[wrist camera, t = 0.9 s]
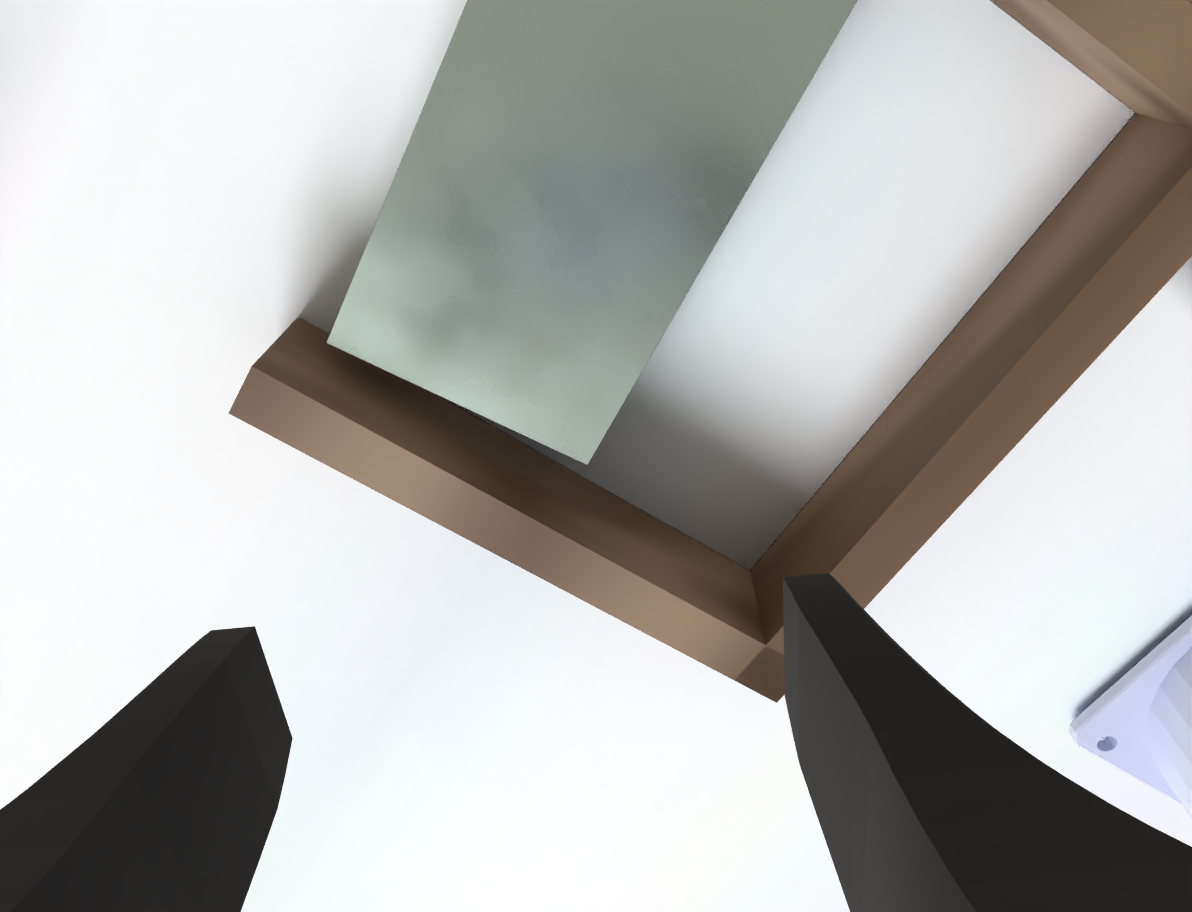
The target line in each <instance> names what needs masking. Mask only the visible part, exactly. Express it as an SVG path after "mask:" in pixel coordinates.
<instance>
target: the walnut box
mask: <svg viewBox="0 0 1192 912" xmlns="http://www.w3.org/2000/svg"><path fill="white" fill-rule="evenodd" d="M990 1H992V2H993V3H994V4H995V5H997V6H998V7H999V8H1001V9H1002V10H1003V11H1004V12H1006V13H1007V14H1008V15H1010V16H1011V17H1012V18H1013V19H1015V20H1016V21H1017V22H1019V23H1020V24H1021V25H1023V26H1024V27H1025V28H1026V29H1028V30H1029V31H1030V32H1032V33H1033V34H1034V35H1035V36H1037V37H1038V38H1039V39H1041V40H1042V41H1043V42H1044V43H1046V44H1047V45H1048V46H1050V47H1051V48H1052V49H1053V50H1055V51H1056V52H1057V53H1059V54H1060V55H1061V56H1063V57H1064V58H1065V59H1066V60H1068V61H1069V62H1070V63H1072V64H1073V65H1074V66H1075V67H1077V68H1078V69H1079V70H1081V71H1082V72H1083V73H1084V74H1086V75H1087V76H1088V77H1090V78H1091V79H1092V80H1093V81H1095V82H1096V83H1097V84H1099V85H1100V86H1101V87H1103V88H1104V89H1105V90H1106V91H1108V92H1109V93H1110V94H1112V95H1113V96H1114V97H1115V98H1117V99H1118V100H1119V101H1121V102H1122V103H1123V104H1124V105H1126V106H1127V107H1128V108H1130V109H1131V110H1132V111H1133V112H1135V115H1134V116H1133V117H1132V118H1131V119H1130V121H1129V122H1128V123H1127V124H1126V125H1125V126H1124V128H1123V129H1122V130H1121V131H1120V132H1119V134H1118V135H1117V136H1116V137H1115V138H1114V140H1113V141H1112V142H1111V143H1110V144H1109V145H1108V147H1107V148H1106V149H1105V150H1104V151H1103V153H1102V154H1101V155H1100V156H1099V157H1098V159H1097V160H1096V161H1095V162H1094V163H1093V164H1092V166H1091V167H1090V168H1089V169H1088V170H1087V172H1086V173H1085V174H1084V175H1083V176H1082V178H1081V179H1080V180H1079V181H1078V182H1077V183H1076V185H1075V186H1074V187H1073V188H1072V189H1071V191H1070V192H1069V193H1068V194H1067V195H1066V197H1065V198H1064V199H1063V200H1062V201H1061V202H1060V204H1059V205H1058V206H1057V207H1056V208H1055V210H1054V211H1053V212H1052V213H1051V214H1050V216H1049V217H1048V218H1047V219H1046V220H1045V221H1044V223H1043V224H1042V225H1041V226H1040V227H1039V229H1038V230H1037V231H1036V232H1035V233H1034V235H1033V236H1032V237H1031V238H1030V239H1029V240H1028V242H1027V243H1026V244H1025V245H1024V246H1023V248H1022V249H1021V250H1020V251H1019V252H1018V254H1017V255H1016V256H1015V257H1014V258H1013V259H1012V261H1011V262H1010V263H1009V264H1008V265H1007V267H1006V268H1005V269H1004V270H1003V271H1002V273H1001V274H1000V275H999V276H998V277H997V278H996V280H995V281H994V282H993V283H992V284H991V286H990V287H989V288H988V289H987V290H986V292H985V293H984V294H983V295H982V296H981V297H980V299H979V300H978V301H977V302H976V303H975V305H974V306H973V307H972V308H971V309H970V311H969V312H968V313H967V314H966V315H965V316H964V318H963V319H962V320H961V321H960V322H959V324H958V325H957V326H956V327H955V328H954V330H953V331H952V332H951V333H950V334H949V335H948V337H947V338H946V339H945V340H944V341H943V343H942V344H941V345H940V346H939V347H938V349H937V350H936V351H935V352H934V353H933V354H932V356H931V357H930V358H929V359H928V360H927V362H926V363H925V364H924V365H923V366H922V368H921V369H920V370H919V371H918V372H917V373H916V375H915V376H914V377H913V378H912V379H911V381H910V382H909V383H908V384H907V385H906V387H905V388H904V389H903V390H902V391H901V392H900V394H899V395H898V396H897V397H896V398H895V400H894V401H893V402H892V403H891V404H890V406H889V407H888V408H887V409H886V410H885V411H884V413H883V414H882V415H881V416H880V417H879V419H878V420H877V421H876V422H875V423H874V425H873V426H872V427H871V428H870V429H869V430H868V432H867V433H866V434H865V435H864V436H863V438H862V439H861V440H860V441H859V442H858V444H857V445H856V446H855V447H854V448H853V449H852V451H851V452H850V453H849V454H848V455H847V457H846V458H845V459H844V460H843V461H842V463H841V464H840V465H839V466H838V467H837V468H836V470H835V471H834V472H833V473H832V474H831V476H830V477H829V478H828V479H827V480H826V482H825V483H824V484H823V485H822V486H821V487H820V489H819V490H818V491H817V492H816V493H815V495H814V496H813V497H812V498H811V499H810V501H809V502H808V503H807V504H806V505H805V506H804V508H803V509H802V510H801V511H800V512H799V514H798V515H797V516H796V517H795V518H794V520H793V521H792V522H791V523H790V524H789V525H788V527H787V528H786V529H785V530H784V531H783V533H782V534H781V535H780V536H779V537H778V539H777V540H776V541H775V542H774V543H773V544H772V546H771V547H770V548H769V549H768V550H767V552H766V553H765V554H764V555H763V556H762V558H761V559H760V560H759V561H758V562H757V563H756V565H755V566H754V567H753V568H752V569H751V571H749V570H747V569H745V568H744V567H742V566H740V565H738V564H737V563H735V562H733V561H731V560H729V559H728V558H726V557H724V556H722V555H720V554H719V553H717V552H715V551H713V550H712V549H710V548H708V547H706V546H704V545H703V544H701V543H699V542H697V541H696V540H694V539H692V538H690V537H688V536H687V535H685V534H683V533H681V532H680V531H678V530H676V529H674V528H672V527H671V526H669V525H667V524H665V523H663V522H662V521H660V520H658V519H656V518H655V517H653V516H651V515H649V514H647V513H646V512H644V511H642V510H640V509H639V508H637V507H635V506H633V505H631V504H630V503H628V502H626V501H624V500H623V499H621V498H619V497H617V496H615V495H614V494H612V493H610V492H608V491H606V490H605V489H603V488H601V487H599V486H598V485H596V484H594V483H592V482H590V481H589V480H587V479H585V478H583V477H582V476H580V475H578V474H576V473H574V472H573V471H571V470H569V469H567V468H565V467H564V466H562V465H560V464H558V463H557V462H555V461H553V460H551V459H549V458H548V457H546V456H544V455H542V454H541V453H539V452H537V451H535V450H533V449H532V448H530V447H528V446H526V445H525V444H523V443H521V442H519V441H517V440H516V439H514V438H512V437H510V436H508V435H507V434H505V433H503V432H501V431H500V430H498V429H496V428H494V427H492V426H491V425H489V424H487V423H485V422H484V421H482V420H480V419H478V418H476V417H475V416H473V415H471V414H469V413H467V412H466V411H464V410H462V409H460V408H459V407H457V406H455V405H453V404H451V403H450V402H448V401H446V400H444V399H443V398H441V397H439V396H437V395H435V394H434V393H432V392H430V391H428V390H426V389H424V388H422V387H420V386H418V385H415V384H413V383H411V382H409V381H407V380H405V379H403V378H400V377H398V376H396V375H394V374H392V373H390V372H388V371H386V370H383V369H381V368H379V367H377V366H375V365H373V364H371V363H368V362H366V361H364V360H362V359H360V358H358V357H356V356H354V355H351V354H349V353H347V352H345V351H343V350H341V349H339V348H336V347H334V346H332V345H330V344H328V343H327V340H328V338H329V334H327V333H325V332H323V331H321V330H320V329H318V328H316V327H314V326H312V325H311V324H309V323H307V322H305V321H304V320H302V319H300V318H297V319H296V320H295V321H294V322H293V323H292V324H291V325H290V326H289V327H288V328H287V329H286V330H285V332H284V333H283V334H282V335H281V336H280V337H279V338H278V339H277V340H276V341H275V342H274V343H273V344H272V345H271V346H270V347H269V349H268V350H267V351H266V352H265V353H264V354H263V355H262V356H261V357H260V358H259V359H258V360H257V361H256V362H255V363H254V364H253V366H252V367H251V369H250V371H249V373H248V375H247V377H246V379H245V381H244V383H243V385H242V387H241V389H240V391H239V393H238V395H237V397H236V399H235V401H234V403H233V405H232V407H231V409H230V411H229V414H231V415H233V416H235V417H237V418H239V419H241V420H242V421H244V422H246V423H248V424H250V425H252V426H254V427H256V428H258V429H260V430H261V431H263V432H265V433H267V434H269V435H271V436H273V437H275V438H277V439H278V440H280V441H282V442H284V443H286V444H288V445H290V446H292V447H294V448H295V449H297V450H299V451H301V452H303V453H305V454H307V455H309V456H311V457H313V458H314V459H316V460H318V461H320V462H322V463H324V464H326V465H328V466H330V467H331V468H333V469H335V470H337V471H339V472H341V473H343V474H345V475H347V476H349V477H350V478H352V479H354V480H356V481H358V482H360V483H362V484H364V485H366V486H367V487H369V488H371V489H373V490H375V491H377V492H379V493H381V494H383V495H385V496H386V497H388V498H390V499H392V500H394V501H396V502H398V503H400V504H402V505H403V506H405V507H407V508H409V509H411V510H413V511H415V512H417V513H419V514H420V515H422V516H424V517H426V518H428V519H430V520H432V521H434V522H436V523H438V524H439V525H441V526H443V527H445V528H447V529H449V530H451V531H453V532H455V533H456V534H458V535H460V536H462V537H464V538H466V539H468V540H470V541H472V542H474V543H475V544H477V545H479V546H481V547H483V548H485V549H487V550H489V551H491V552H492V553H494V554H496V555H498V556H500V557H502V558H504V559H506V560H508V561H509V562H511V563H513V564H515V565H517V566H519V567H521V568H523V569H525V570H527V571H528V572H530V573H532V574H534V575H536V576H538V577H540V578H542V579H544V580H545V581H547V582H549V583H551V584H553V585H555V586H557V587H559V588H561V589H563V590H564V591H566V592H568V593H570V594H572V595H574V596H576V597H578V598H580V599H581V600H583V601H585V602H587V603H589V604H591V605H593V606H595V607H597V608H598V609H600V610H602V611H604V612H606V613H608V614H610V615H612V616H614V617H616V618H617V619H619V620H621V621H623V622H625V623H627V624H629V625H631V626H633V627H634V628H636V629H638V630H640V631H642V632H644V633H646V634H648V635H650V636H652V637H653V638H655V639H657V640H659V641H661V642H663V643H665V644H667V645H669V646H670V647H672V648H674V649H676V650H678V651H680V652H682V653H684V654H686V655H687V656H689V657H691V658H693V659H695V660H697V661H699V662H701V663H703V664H705V665H706V666H708V667H710V668H712V669H714V670H716V671H718V672H720V673H722V674H723V675H725V676H727V677H729V678H731V679H733V680H735V681H737V682H739V683H741V684H742V685H744V686H746V687H748V688H750V689H752V690H754V691H756V692H758V693H759V694H761V695H763V696H765V697H767V698H769V699H771V700H773V701H775V702H776V703H777V702H778V701H779V700H780V699H781V697H782V696H783V695H784V694H785V686H784V613H783V577H792V576H803V575H813V574H824V573H829V574H831V575H832V576H833V577H834V578H835V579H836V580H837V581H838V582H839V583H840V584H841V585H842V586H843V587H844V588H845V589H846V591H847V592H848V593H849V594H850V595H851V596H852V597H853V598H854V599H855V600H856V601H857V603H858V604H859V605H860V606H861V607H862V608H863V609H864V608H865V607H866V606H867V605H868V604H869V603H870V602H871V601H872V599H873V598H874V597H875V596H876V595H877V594H878V593H879V592H880V591H881V590H882V589H883V588H884V587H885V585H886V584H887V583H888V582H889V581H890V580H891V579H892V578H893V577H894V576H895V575H896V574H897V573H898V571H899V570H900V569H901V568H902V567H903V566H904V565H905V564H906V563H907V562H908V561H909V560H910V559H911V557H912V556H913V555H914V554H915V553H916V552H917V551H918V550H919V549H920V548H921V547H922V546H923V545H924V543H925V542H926V541H927V540H928V539H929V538H930V537H931V536H932V535H933V534H934V533H935V532H936V531H937V529H938V528H939V527H940V526H941V525H942V524H943V523H944V522H945V521H946V520H947V519H948V518H949V517H950V515H951V514H952V513H953V512H954V511H955V510H956V509H957V508H958V507H959V506H960V505H961V504H962V503H963V502H964V500H965V499H966V498H967V497H968V496H969V495H970V494H971V493H972V492H973V491H974V490H975V489H976V488H977V486H978V485H979V484H980V483H981V482H982V481H983V480H984V479H985V478H986V477H987V476H988V475H989V474H990V472H991V471H992V470H993V469H994V468H995V467H996V466H997V465H998V464H999V463H1000V462H1001V461H1002V460H1003V458H1004V457H1005V456H1006V455H1007V454H1008V453H1009V452H1010V451H1011V450H1012V449H1013V448H1014V447H1015V446H1016V444H1017V443H1018V442H1019V441H1020V440H1021V439H1022V438H1023V437H1024V436H1025V435H1026V434H1027V433H1028V432H1029V430H1030V429H1031V428H1032V427H1033V426H1034V425H1035V424H1036V423H1037V422H1038V421H1039V420H1040V419H1041V418H1042V416H1043V415H1044V414H1045V413H1046V412H1047V411H1048V410H1049V409H1050V408H1051V407H1052V406H1053V405H1054V404H1055V402H1056V401H1057V400H1058V399H1059V398H1060V397H1061V396H1062V395H1063V394H1064V393H1065V392H1066V391H1067V390H1068V388H1069V387H1070V386H1071V385H1072V384H1073V383H1074V382H1075V381H1076V380H1077V379H1078V378H1079V377H1080V376H1081V374H1082V373H1083V372H1084V371H1085V370H1086V369H1087V368H1088V367H1089V366H1090V365H1091V364H1092V363H1093V362H1094V360H1095V359H1096V358H1097V357H1098V356H1099V355H1100V354H1101V353H1102V352H1103V351H1104V350H1105V349H1106V348H1107V346H1108V345H1109V344H1110V343H1111V342H1112V341H1113V340H1114V339H1115V338H1116V337H1117V336H1118V335H1119V334H1120V332H1121V331H1122V330H1123V329H1124V328H1125V327H1126V326H1127V325H1128V324H1129V323H1130V322H1131V321H1132V320H1133V318H1134V317H1135V316H1136V315H1137V314H1138V313H1139V312H1140V311H1141V310H1142V309H1143V308H1144V307H1145V306H1146V304H1147V303H1148V302H1149V301H1150V300H1151V299H1152V298H1153V297H1154V296H1155V295H1156V294H1157V293H1158V292H1159V290H1160V289H1161V288H1162V287H1163V286H1164V285H1165V284H1166V283H1167V282H1168V281H1169V280H1170V279H1171V278H1172V276H1173V275H1174V274H1175V273H1176V272H1177V271H1178V270H1179V269H1180V268H1181V267H1182V266H1183V265H1184V264H1185V262H1186V261H1187V260H1188V259H1189V258H1190V257H1191V256H1192V3H1190V2H1189V1H1188V0H990Z"/></svg>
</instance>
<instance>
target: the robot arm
mask: <svg viewBox="0 0 1192 912" xmlns="http://www.w3.org/2000/svg"><path fill="white" fill-rule="evenodd" d="M783 613H784V686H785V699H786V704H787V708H788V713H789V718H790V723H791V727H792V732H793V737H794V741H795V746H796V750H797V755H798V759H799V763H800V766H801V769H802V772H803V775H804V778H805V781H806V784H807V787H808V790H809V793H810V796H811V799H812V802H813V805H814V808H815V811H816V814H817V817H818V819H819V822H820V825H821V828H822V831H823V834H824V837H825V840H826V843H827V845H828V848H829V851H830V854H831V857H832V860H833V863H834V866H835V869H836V872H837V874H838V877H839V880H840V883H841V886H842V889H843V892H844V895H845V898H846V901H847V903H848V906H849V909H850V912H1192V847H1191V846H1189V845H1187V844H1185V843H1183V842H1181V841H1179V840H1177V839H1175V838H1173V837H1171V836H1169V835H1167V834H1165V833H1163V832H1161V831H1159V830H1157V829H1155V828H1153V827H1151V826H1149V825H1147V824H1146V823H1144V822H1142V821H1140V820H1138V819H1136V818H1135V817H1133V816H1131V815H1129V814H1127V813H1125V812H1124V811H1122V810H1120V809H1118V808H1116V807H1115V806H1113V805H1111V804H1109V803H1108V802H1106V801H1104V800H1103V799H1101V798H1099V797H1098V796H1096V795H1094V794H1093V793H1091V792H1089V791H1088V790H1086V789H1084V788H1083V787H1081V786H1079V785H1078V784H1076V783H1074V782H1073V781H1071V780H1069V779H1068V778H1066V777H1065V776H1063V775H1061V774H1060V773H1058V772H1057V771H1055V770H1054V769H1052V768H1051V767H1049V766H1048V765H1046V764H1044V763H1043V762H1041V761H1040V760H1038V759H1037V758H1035V757H1034V756H1033V755H1031V754H1030V753H1028V752H1027V751H1026V750H1024V749H1023V748H1021V747H1020V746H1018V745H1017V744H1016V743H1014V742H1013V741H1011V740H1010V739H1009V738H1007V737H1006V736H1004V735H1003V734H1002V733H1000V732H999V731H997V730H996V729H995V728H993V727H992V726H991V725H990V724H988V723H987V722H986V721H985V720H983V719H982V718H981V717H979V716H978V715H977V714H976V713H974V712H973V711H972V710H971V709H970V708H968V707H967V706H966V705H965V704H964V703H962V702H961V701H960V700H959V699H958V698H957V697H955V696H954V695H953V694H952V693H951V692H949V691H948V690H947V689H946V688H945V687H944V686H942V685H941V684H940V683H939V682H938V681H937V680H936V679H935V678H933V677H932V676H931V675H930V674H929V673H928V672H927V671H926V670H925V669H924V668H923V667H922V666H920V665H919V664H918V663H917V662H916V661H915V660H914V659H913V658H912V657H911V656H910V655H909V654H908V653H907V652H906V651H905V650H903V649H902V648H901V647H900V646H899V645H898V644H897V643H896V642H895V641H894V640H893V639H892V638H891V637H890V636H889V635H888V634H887V633H886V632H885V631H884V630H883V629H882V628H881V627H880V626H879V625H878V624H877V623H876V622H875V621H874V620H873V618H872V617H871V616H870V615H869V614H868V613H867V612H866V611H865V610H864V609H863V608H862V607H861V606H860V605H859V604H858V603H857V601H856V600H855V599H854V598H853V597H852V596H851V595H850V594H849V593H848V592H847V591H846V589H845V588H844V587H843V586H842V585H841V584H840V583H839V582H838V581H837V580H836V579H835V578H834V577H833V576H832V575H831V574H829V573H824V574H813V575H803V576H792V577H783ZM1069 732H1070V735H1071V737H1072V739H1073V740H1074V742H1075V743H1076V744H1077V745H1078V746H1079V747H1081V748H1083V749H1084V750H1086V751H1088V752H1090V753H1091V754H1093V755H1095V756H1097V757H1098V758H1100V759H1102V760H1104V761H1106V762H1107V763H1109V764H1111V765H1113V766H1114V767H1116V768H1118V769H1120V770H1122V771H1123V772H1125V773H1127V774H1129V775H1130V776H1132V777H1134V778H1136V779H1137V780H1139V781H1141V782H1143V783H1145V784H1146V785H1148V786H1150V787H1152V788H1153V789H1155V790H1157V791H1159V792H1161V793H1162V794H1164V795H1166V796H1168V797H1169V798H1171V799H1173V800H1175V801H1176V802H1178V803H1180V804H1182V805H1183V806H1184V808H1185V809H1186V810H1187V812H1188V813H1189V815H1190V816H1191V818H1192V615H1191V616H1190V617H1189V618H1188V619H1187V620H1186V621H1185V622H1183V623H1182V624H1181V625H1180V626H1179V627H1178V628H1177V629H1176V630H1174V631H1173V632H1172V633H1171V634H1170V635H1169V636H1168V637H1167V638H1165V639H1164V640H1163V641H1162V642H1161V643H1160V644H1159V645H1158V646H1156V647H1155V648H1154V649H1153V650H1152V651H1151V652H1150V653H1148V654H1147V655H1146V656H1145V657H1144V658H1143V659H1142V660H1141V661H1139V662H1138V663H1137V664H1136V665H1135V666H1134V667H1133V668H1132V669H1130V670H1129V671H1128V672H1127V673H1126V674H1125V675H1124V676H1123V677H1121V678H1120V679H1119V680H1118V681H1117V682H1116V683H1115V684H1113V685H1112V686H1111V687H1110V688H1109V689H1108V690H1107V691H1106V692H1104V693H1103V694H1102V695H1101V696H1100V697H1099V698H1098V699H1097V700H1095V701H1094V702H1093V703H1092V704H1091V705H1090V706H1089V707H1088V708H1086V709H1085V710H1084V711H1083V712H1082V713H1081V714H1080V715H1079V716H1077V717H1076V718H1075V719H1074V720H1073V721H1072V723H1071V724H1070V727H1069ZM1104 737H1108V738H1106V739H1104V740H1101V741H1099V740H1100V739H1102V738H1104ZM291 743H292V736H291V733H290V730H289V727H288V724H287V721H286V718H285V715H284V712H283V709H282V706H281V703H280V700H279V697H278V694H277V691H276V688H275V685H274V682H273V679H272V676H271V673H270V670H269V667H268V665H267V662H266V659H265V656H264V653H263V650H262V647H261V644H260V641H259V638H258V635H257V632H256V629H255V626H254V627H244V628H233V629H222V630H211V631H210V632H209V633H207V634H206V635H205V636H204V637H202V638H201V639H200V640H199V641H198V642H196V643H195V644H194V645H193V646H192V647H190V648H189V649H188V650H187V651H186V652H185V653H184V654H183V655H181V656H180V657H179V658H178V659H177V660H176V661H175V662H174V663H172V664H171V665H170V666H169V667H168V668H167V669H166V670H165V671H164V672H163V673H161V674H160V675H159V676H158V677H157V678H156V679H155V680H154V681H153V682H152V683H150V684H149V685H148V686H147V687H146V688H145V689H144V690H143V691H142V692H140V693H139V694H138V695H137V696H136V697H135V698H134V699H133V700H132V701H130V702H129V703H128V704H127V705H126V706H125V707H124V708H123V709H121V710H120V711H119V712H118V713H117V714H116V715H115V716H114V717H112V718H111V719H110V720H109V721H108V722H107V723H106V724H105V725H104V726H102V727H101V728H100V729H99V730H98V731H97V732H96V733H94V734H93V735H92V736H91V737H90V738H89V739H87V740H86V741H85V742H84V743H82V744H81V745H80V746H79V747H78V748H76V749H75V750H74V751H73V752H72V753H70V754H69V755H68V756H67V757H66V758H64V759H63V760H62V761H61V762H60V763H58V764H57V765H56V766H55V767H54V768H52V769H51V770H50V771H49V772H48V773H46V774H45V775H44V776H43V777H41V778H40V779H39V780H38V781H37V782H35V783H34V784H33V785H32V786H31V787H29V788H28V789H27V790H26V791H24V792H23V793H22V794H20V795H19V796H18V797H17V798H15V799H14V800H13V801H11V802H10V803H9V804H7V805H6V806H5V807H3V808H2V809H1V810H0V912H241V909H242V906H243V903H244V901H245V898H246V895H247V892H248V890H249V887H250V884H251V881H252V879H253V876H254V873H255V870H256V868H257V865H258V862H259V859H260V857H261V854H262V851H263V848H264V845H265V842H266V840H267V837H268V834H269V831H270V828H271V826H272V823H273V820H274V817H275V814H276V811H277V808H278V804H279V799H280V795H281V791H282V786H283V782H284V778H285V773H286V768H287V763H288V758H289V753H290V748H291Z"/></svg>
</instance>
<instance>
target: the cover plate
mask: <svg viewBox="0 0 1192 912" xmlns="http://www.w3.org/2000/svg"><path fill="white" fill-rule="evenodd" d="M856 2H857V0H467V3H466V5H465V8H464V10H463V13H462V15H461V17H460V20H459V22H458V25H457V27H456V30H455V32H454V34H453V37H452V39H451V42H450V44H449V46H448V49H447V51H446V54H445V56H444V59H443V61H442V63H441V66H440V68H439V71H438V73H437V76H436V78H435V80H434V83H433V85H432V88H431V90H430V93H429V95H428V97H427V100H426V102H425V105H424V107H423V110H422V112H421V114H420V117H419V119H418V122H417V124H416V127H415V129H414V131H413V134H412V136H411V139H410V141H409V144H408V146H407V148H406V151H405V153H404V156H403V158H402V161H401V163H400V165H399V168H398V170H397V173H396V175H395V178H394V180H393V182H392V185H391V187H390V190H389V192H388V195H387V197H386V199H385V202H384V204H383V207H382V209H381V212H380V214H379V216H378V219H377V221H376V224H375V226H374V229H373V231H372V233H371V236H370V238H369V241H368V243H367V246H366V248H365V250H364V253H363V255H362V258H361V260H360V263H359V265H358V267H357V270H356V272H355V275H354V277H353V280H352V282H351V284H350V287H349V289H348V292H347V294H346V296H345V299H344V301H343V304H342V306H341V309H340V311H339V313H338V316H337V318H336V321H335V323H334V326H333V328H332V330H331V333H330V335H329V338H328V340H327V343H328V344H330V345H332V346H334V347H336V348H339V349H341V350H343V351H345V352H347V353H349V354H351V355H354V356H356V357H358V358H360V359H362V360H364V361H366V362H368V363H371V364H373V365H375V366H377V367H379V368H381V369H383V370H386V371H388V372H390V373H392V374H394V375H396V376H398V377H400V378H403V379H405V380H407V381H409V382H411V383H413V384H415V385H418V386H420V387H422V388H424V389H426V390H428V391H430V392H432V393H435V394H437V395H439V396H441V397H443V398H445V399H447V400H450V401H452V402H454V403H456V404H458V405H460V406H462V407H465V408H467V409H469V410H471V411H473V412H475V413H477V414H479V415H482V416H484V417H486V418H488V419H490V420H492V421H494V422H497V423H499V424H501V425H503V426H505V427H507V428H509V429H511V430H514V431H516V432H518V433H520V434H522V435H524V436H526V437H529V438H531V439H533V440H535V441H537V442H539V443H541V444H543V445H546V446H548V447H550V448H552V449H554V450H556V451H558V452H561V453H563V454H565V455H567V456H569V457H571V458H573V459H575V460H578V461H580V462H582V463H584V464H586V465H588V463H589V461H590V460H591V458H592V456H593V454H594V453H595V451H596V449H597V448H598V446H599V444H600V442H601V441H602V439H603V437H604V436H605V434H606V432H607V430H608V429H609V427H610V425H611V423H612V422H613V420H614V418H615V417H616V415H617V413H618V411H619V410H620V408H621V406H622V405H623V403H624V401H625V399H626V398H627V396H628V394H629V393H630V391H631V389H632V387H633V386H634V384H635V382H636V380H637V379H638V377H639V375H640V374H641V372H642V370H643V368H644V367H645V365H646V363H647V362H648V360H649V358H650V356H651V355H652V353H653V351H654V350H655V348H656V346H657V344H658V343H659V341H660V339H661V337H662V336H663V334H664V332H665V331H666V329H667V327H668V325H669V324H670V322H671V320H672V319H673V317H674V315H675V313H676V312H677V310H678V308H679V306H680V305H681V303H682V301H683V300H684V298H685V296H686V294H687V293H688V291H689V289H690V288H691V286H692V284H693V282H694V281H695V279H696V277H697V276H698V274H699V272H700V270H701V269H702V267H703V265H704V263H705V262H706V260H707V258H708V257H709V255H710V253H711V251H712V250H713V248H714V246H715V245H716V243H717V241H718V239H719V238H720V236H721V234H722V232H723V231H724V229H725V227H726V226H727V224H728V222H729V220H730V219H731V217H732V215H733V214H734V212H735V210H736V208H737V207H738V205H739V203H740V202H741V200H742V198H743V196H744V195H745V193H746V191H747V189H748V188H749V186H750V184H751V183H752V181H753V179H754V177H755V176H756V174H757V172H758V171H759V169H760V167H761V165H762V164H763V162H764V160H765V158H766V157H767V155H768V153H769V152H770V150H771V148H772V146H773V145H774V143H775V141H776V140H777V138H778V136H779V134H780V133H781V131H782V129H783V128H784V126H785V124H786V122H787V121H788V119H789V117H790V115H791V114H792V112H793V110H794V109H795V107H796V105H797V103H798V102H799V100H800V98H801V97H802V95H803V93H804V91H805V90H806V88H807V86H808V84H809V83H810V81H811V79H812V78H813V76H814V74H815V72H816V71H817V69H818V67H819V66H820V64H821V62H822V60H823V59H824V57H825V55H826V54H827V52H828V50H829V48H830V47H831V45H832V43H833V41H834V40H835V38H836V36H837V35H838V33H839V31H840V29H841V28H842V26H843V24H844V23H845V21H846V19H847V17H848V16H849V14H850V12H851V10H852V9H853V7H854V5H855V4H856Z"/></svg>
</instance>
